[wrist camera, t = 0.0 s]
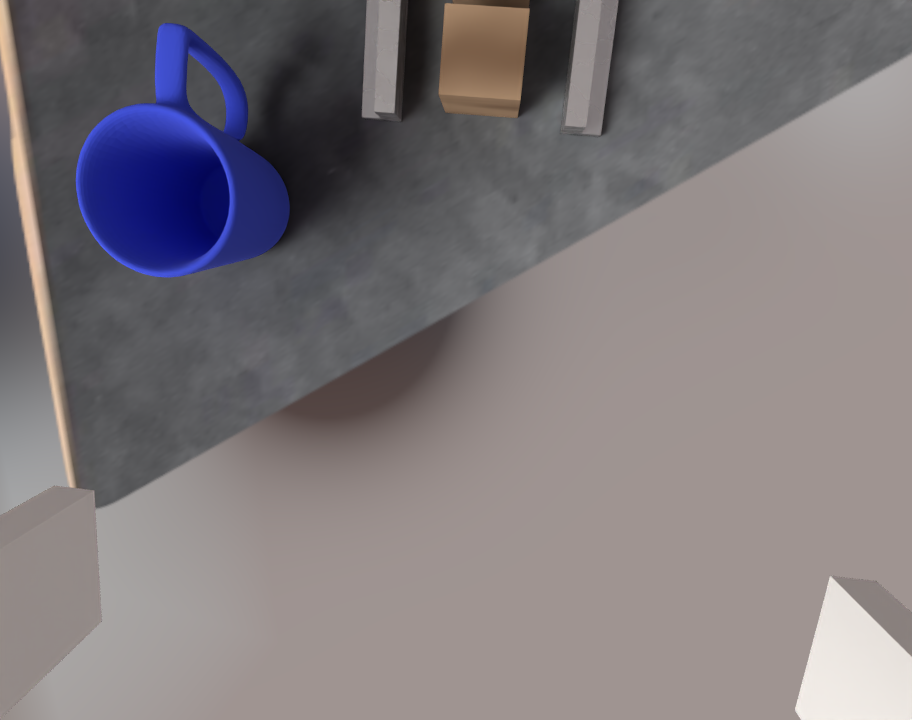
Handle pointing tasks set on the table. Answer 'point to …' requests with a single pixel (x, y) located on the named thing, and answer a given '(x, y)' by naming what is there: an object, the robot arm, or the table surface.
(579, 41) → the slot rails
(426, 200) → the table surface
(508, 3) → the tan cardboard cube
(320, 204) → the table surface
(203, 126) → the mug
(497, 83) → the brown shipping carton
